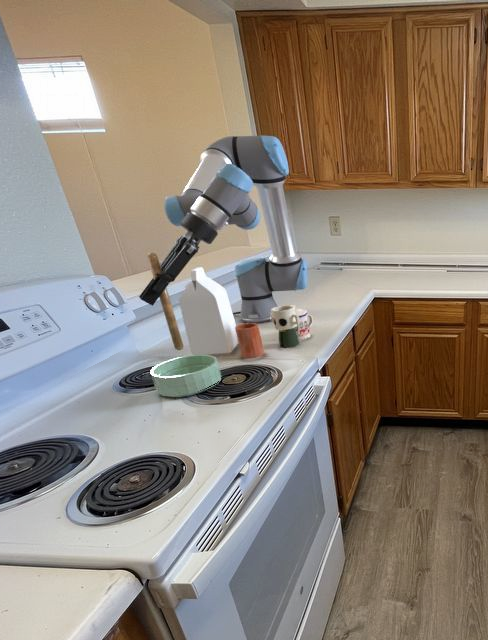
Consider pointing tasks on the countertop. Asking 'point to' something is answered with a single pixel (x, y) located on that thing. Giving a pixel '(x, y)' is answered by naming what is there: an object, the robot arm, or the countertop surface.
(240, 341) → the utensil crock
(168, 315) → the stirring stick
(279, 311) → the character mug
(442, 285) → the countertop surface
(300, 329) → the white patterned mug
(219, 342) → the milk
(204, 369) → the bowl
